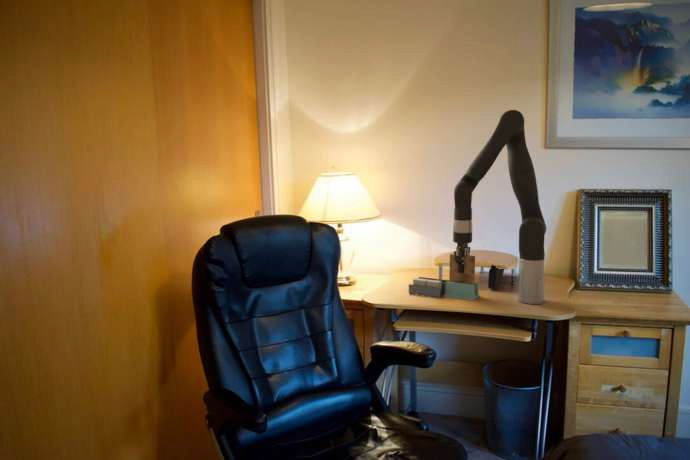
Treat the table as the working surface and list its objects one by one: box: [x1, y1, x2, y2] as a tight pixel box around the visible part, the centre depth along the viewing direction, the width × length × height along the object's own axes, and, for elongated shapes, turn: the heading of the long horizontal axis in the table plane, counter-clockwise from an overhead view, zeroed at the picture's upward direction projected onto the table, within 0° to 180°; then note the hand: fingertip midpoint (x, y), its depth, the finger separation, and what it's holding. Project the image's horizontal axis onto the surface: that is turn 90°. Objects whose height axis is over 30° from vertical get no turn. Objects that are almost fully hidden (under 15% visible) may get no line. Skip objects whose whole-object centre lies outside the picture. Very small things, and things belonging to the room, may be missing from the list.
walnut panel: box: [448, 253, 476, 285], centre depth 212 cm, size 10×2×14 cm, turn 58°
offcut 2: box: [426, 280, 442, 288], centre depth 216 cm, size 6×3×5 cm, turn 58°
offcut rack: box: [408, 276, 449, 299], centre depth 219 cm, size 14×11×5 cm
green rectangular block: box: [444, 281, 480, 302], centre depth 213 cm, size 12×8×6 cm, turn 58°
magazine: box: [487, 264, 505, 290], centre depth 233 cm, size 18×3×31 cm
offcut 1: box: [412, 277, 428, 286], centre depth 219 cm, size 6×3×5 cm, turn 58°
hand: (462, 272), depth 212 cm, fingers closed on walnut panel, 2 cm apart
